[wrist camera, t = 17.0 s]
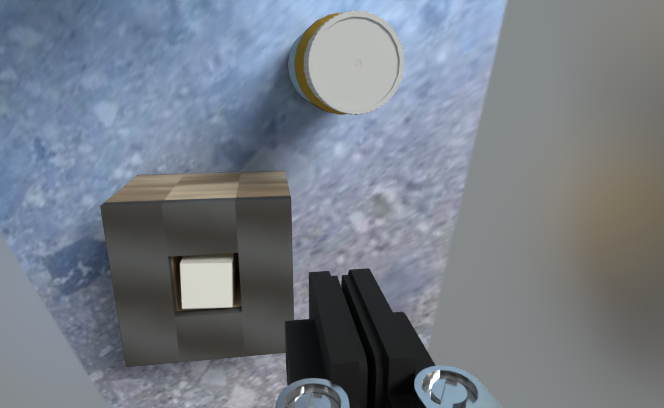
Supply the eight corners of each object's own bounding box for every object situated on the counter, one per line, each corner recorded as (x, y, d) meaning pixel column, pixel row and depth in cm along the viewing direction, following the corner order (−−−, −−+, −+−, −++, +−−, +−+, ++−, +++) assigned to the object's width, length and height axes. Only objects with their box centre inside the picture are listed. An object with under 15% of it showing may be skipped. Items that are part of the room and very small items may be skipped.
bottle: (292, 108, 41) (307, 127, 27) (282, 30, 39) (294, 7, 25) (363, 100, 42) (413, 114, 28) (357, 23, 40) (409, -3, 26)
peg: (198, 221, 43) (179, 263, 34) (238, 221, 44) (231, 263, 35) (199, 258, 44) (182, 308, 35) (238, 257, 45) (232, 307, 36)
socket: (137, 175, 41) (100, 206, 32) (284, 171, 43) (291, 199, 34) (154, 305, 45) (126, 366, 36) (288, 295, 47) (294, 351, 38)
